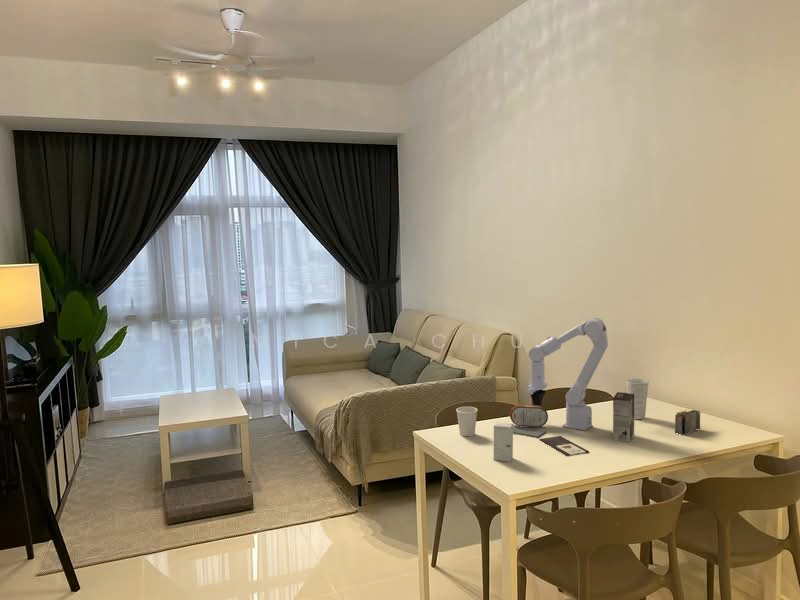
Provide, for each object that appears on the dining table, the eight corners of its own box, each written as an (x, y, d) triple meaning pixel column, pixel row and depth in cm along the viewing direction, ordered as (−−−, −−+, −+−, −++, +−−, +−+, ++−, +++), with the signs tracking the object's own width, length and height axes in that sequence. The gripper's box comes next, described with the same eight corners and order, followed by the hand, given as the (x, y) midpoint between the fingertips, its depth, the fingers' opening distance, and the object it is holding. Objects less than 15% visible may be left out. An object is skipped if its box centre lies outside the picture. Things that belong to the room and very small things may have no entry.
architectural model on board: (682, 436, 225) (682, 411, 224) (675, 434, 227) (675, 409, 227) (701, 431, 230) (701, 406, 230) (693, 429, 233) (694, 404, 232)
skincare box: (493, 460, 205) (492, 425, 204) (496, 455, 209) (495, 421, 208) (511, 462, 202) (510, 427, 201) (513, 457, 207) (513, 423, 206)
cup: (623, 419, 247) (624, 382, 246) (629, 413, 254) (629, 377, 253) (645, 422, 242) (645, 384, 241) (650, 416, 249) (650, 380, 248)
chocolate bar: (560, 435, 227) (588, 451, 209) (560, 438, 227) (588, 453, 210) (539, 438, 224) (566, 454, 207) (539, 441, 224) (566, 457, 207)
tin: (547, 426, 241) (547, 405, 240) (548, 428, 237) (549, 406, 237) (509, 424, 242) (509, 403, 242) (509, 426, 239) (510, 405, 239)
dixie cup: (462, 439, 228) (462, 413, 227) (452, 432, 235) (452, 408, 234) (482, 436, 231) (481, 410, 230) (471, 430, 238) (471, 405, 237)
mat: (546, 432, 233) (546, 430, 233) (537, 438, 226) (537, 436, 226) (506, 425, 243) (506, 423, 243) (497, 430, 237) (497, 429, 237)
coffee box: (616, 433, 230) (617, 391, 228) (634, 435, 226) (635, 393, 225) (612, 440, 222) (612, 397, 220) (630, 442, 219) (631, 399, 217)
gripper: (535, 371, 253) (535, 402, 254) (520, 377, 241) (520, 410, 242) (551, 372, 248) (551, 404, 250) (536, 379, 237) (536, 413, 238)
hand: (537, 407), depth 246 cm, fingers closed
